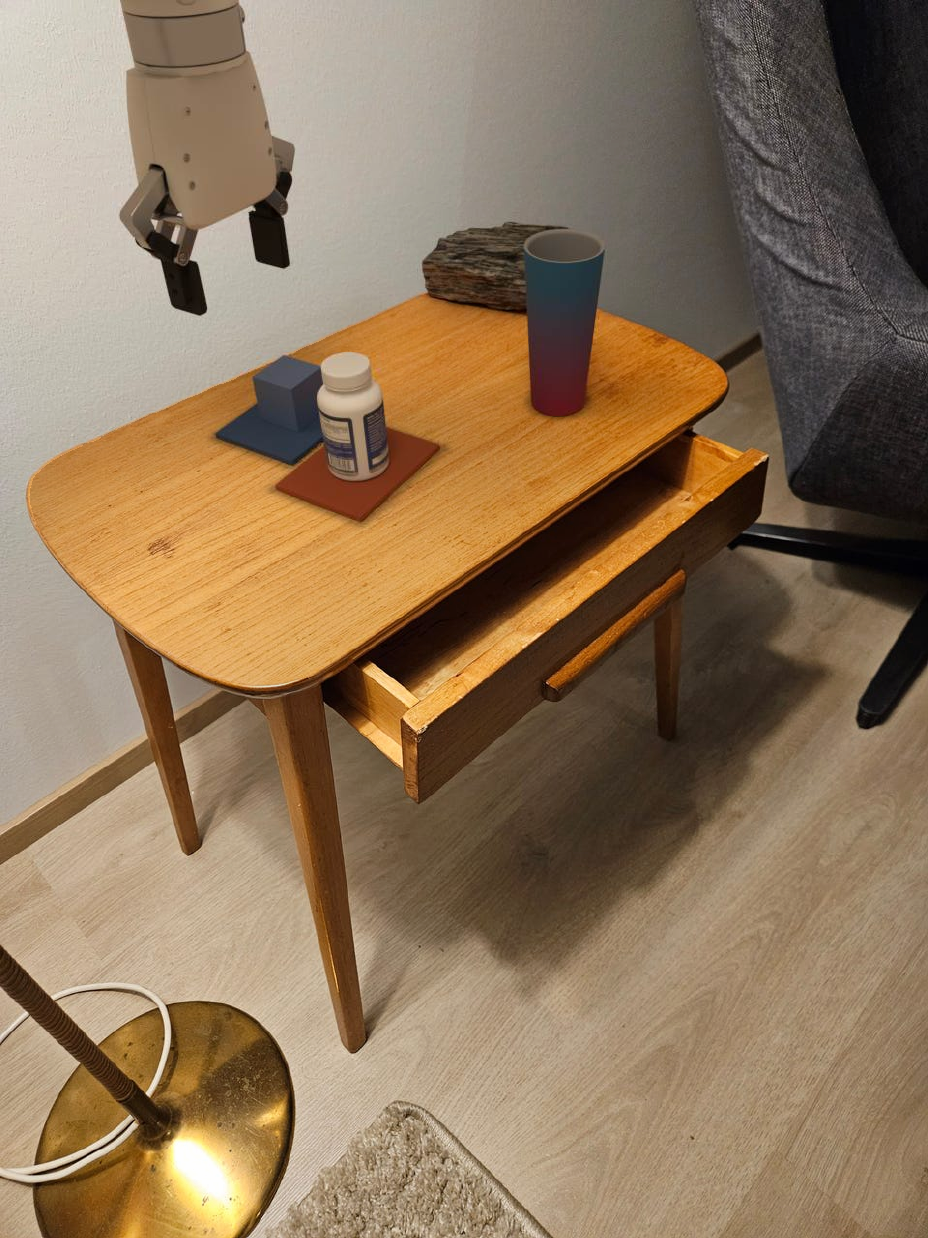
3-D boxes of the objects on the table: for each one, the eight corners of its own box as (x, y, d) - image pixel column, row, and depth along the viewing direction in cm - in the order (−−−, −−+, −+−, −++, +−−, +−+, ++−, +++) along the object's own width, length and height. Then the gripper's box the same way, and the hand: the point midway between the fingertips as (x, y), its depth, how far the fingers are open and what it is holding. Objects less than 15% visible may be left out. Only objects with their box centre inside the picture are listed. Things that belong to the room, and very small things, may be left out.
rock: (464, 263, 114) (460, 210, 110) (590, 278, 109) (591, 223, 104) (420, 305, 106) (414, 250, 102) (553, 324, 101) (553, 267, 97)
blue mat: (292, 465, 85) (291, 460, 84) (215, 437, 88) (214, 433, 88) (371, 401, 92) (371, 397, 91) (298, 378, 95) (297, 373, 95)
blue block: (298, 432, 87) (290, 389, 84) (260, 419, 89) (251, 376, 86) (328, 409, 90) (322, 366, 87) (291, 397, 92) (283, 354, 89)
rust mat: (360, 522, 79) (360, 517, 78) (275, 489, 82) (274, 485, 82) (440, 449, 86) (439, 444, 85) (358, 422, 89) (358, 417, 89)
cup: (511, 390, 92) (512, 235, 82) (577, 378, 94) (586, 223, 83) (536, 427, 88) (540, 267, 77) (605, 413, 89) (618, 254, 79)
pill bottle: (380, 442, 86) (370, 341, 79) (396, 475, 82) (387, 373, 75) (321, 454, 85) (305, 354, 78) (335, 488, 81) (319, 386, 74)
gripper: (232, 7, 71) (268, 240, 82) (45, 60, 60) (117, 319, 72) (312, 17, 68) (337, 257, 80) (131, 75, 57) (191, 342, 69)
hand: (233, 286), depth 76 cm, fingers open, 9 cm apart
